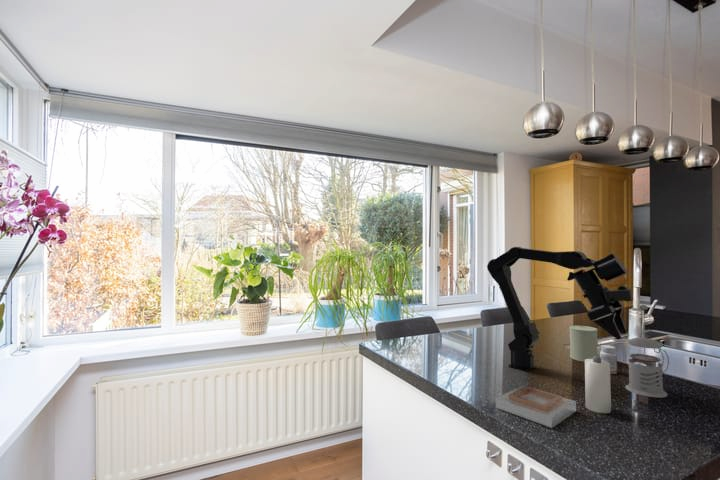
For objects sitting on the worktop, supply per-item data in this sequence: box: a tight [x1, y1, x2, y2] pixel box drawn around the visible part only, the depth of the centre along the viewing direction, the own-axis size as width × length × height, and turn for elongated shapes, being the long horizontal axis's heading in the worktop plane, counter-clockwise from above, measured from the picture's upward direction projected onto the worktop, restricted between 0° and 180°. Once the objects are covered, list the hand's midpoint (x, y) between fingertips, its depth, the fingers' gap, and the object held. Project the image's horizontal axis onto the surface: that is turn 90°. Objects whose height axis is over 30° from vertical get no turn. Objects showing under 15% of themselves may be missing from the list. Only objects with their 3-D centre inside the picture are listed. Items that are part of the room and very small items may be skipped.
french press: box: [624, 304, 670, 399], centre depth 106 cm, size 10×12×25 cm
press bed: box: [495, 385, 577, 429], centre depth 93 cm, size 14×14×4 cm
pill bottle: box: [599, 344, 618, 375], centre depth 122 cm, size 5×5×8 cm
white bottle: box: [584, 356, 612, 414], centre depth 94 cm, size 6×6×13 cm
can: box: [569, 325, 599, 363], centre depth 137 cm, size 9×9×12 cm
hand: (622, 336), depth 107 cm, fingers open, 9 cm apart
